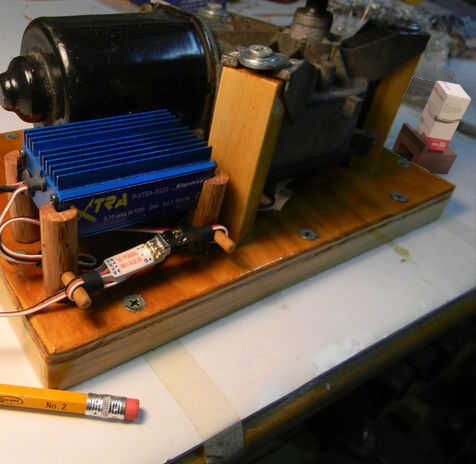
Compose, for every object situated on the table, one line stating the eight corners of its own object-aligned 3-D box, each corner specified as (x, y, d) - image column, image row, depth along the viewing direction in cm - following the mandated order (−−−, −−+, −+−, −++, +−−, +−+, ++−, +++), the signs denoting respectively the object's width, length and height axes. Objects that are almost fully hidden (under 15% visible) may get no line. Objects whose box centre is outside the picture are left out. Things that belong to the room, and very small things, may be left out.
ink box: (445, 153, 98) (473, 99, 91) (421, 148, 99) (447, 95, 91) (435, 134, 105) (460, 83, 97) (412, 130, 105) (436, 79, 98)
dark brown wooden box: (424, 150, 108) (437, 124, 104) (447, 173, 101) (462, 146, 97) (392, 148, 108) (403, 122, 103) (412, 172, 100) (425, 144, 96)
